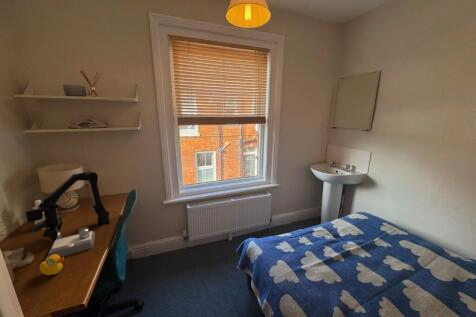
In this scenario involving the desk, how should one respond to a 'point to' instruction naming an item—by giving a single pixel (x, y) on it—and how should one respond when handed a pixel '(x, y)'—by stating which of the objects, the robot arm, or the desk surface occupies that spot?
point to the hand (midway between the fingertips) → (56, 238)
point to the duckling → (52, 265)
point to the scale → (71, 245)
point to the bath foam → (42, 212)
